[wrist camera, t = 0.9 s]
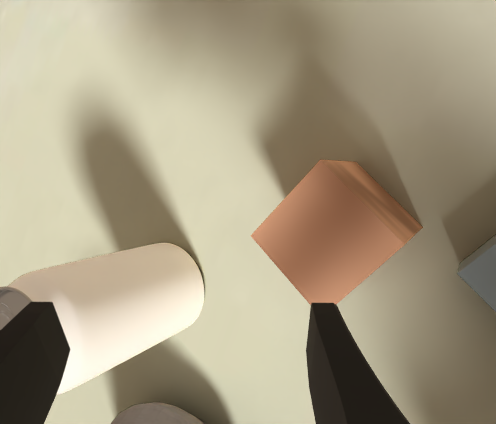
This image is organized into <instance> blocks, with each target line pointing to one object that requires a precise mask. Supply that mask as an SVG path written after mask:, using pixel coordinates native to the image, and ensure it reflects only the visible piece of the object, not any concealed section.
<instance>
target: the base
mask: <svg viewBox="0 0 496 424" xmlns="http://www.w3.org/2000/svg"><path fill="white" fill-rule="evenodd" d="M457 274H458V275H459V276H460V277H461V278H462V279H463V280H464V281H465V282H466V283H467V284H468V285H469V286H470V287H471V288H472V289H473V290H474V291H475V292H476V293H477V294H478V295H479V296H480V297H481V298H482V299H483V300H484V301H485V302H486V303H487V304H488V305H489V306H490V307H491V308H492V309H493V310H494V311H495V312H496V235H495V236H493V237H492V238H491V239H490V240H488V241H487V242H486V243H485V244H483V245H482V246H481V247H480V248H478V249H477V250H476V251H475V252H473V253H472V254H471V255H469V256H468V257H467V258H466V259H464V260H463V261H462V262H461V263H460V264H459V268H458V272H457Z"/></svg>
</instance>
